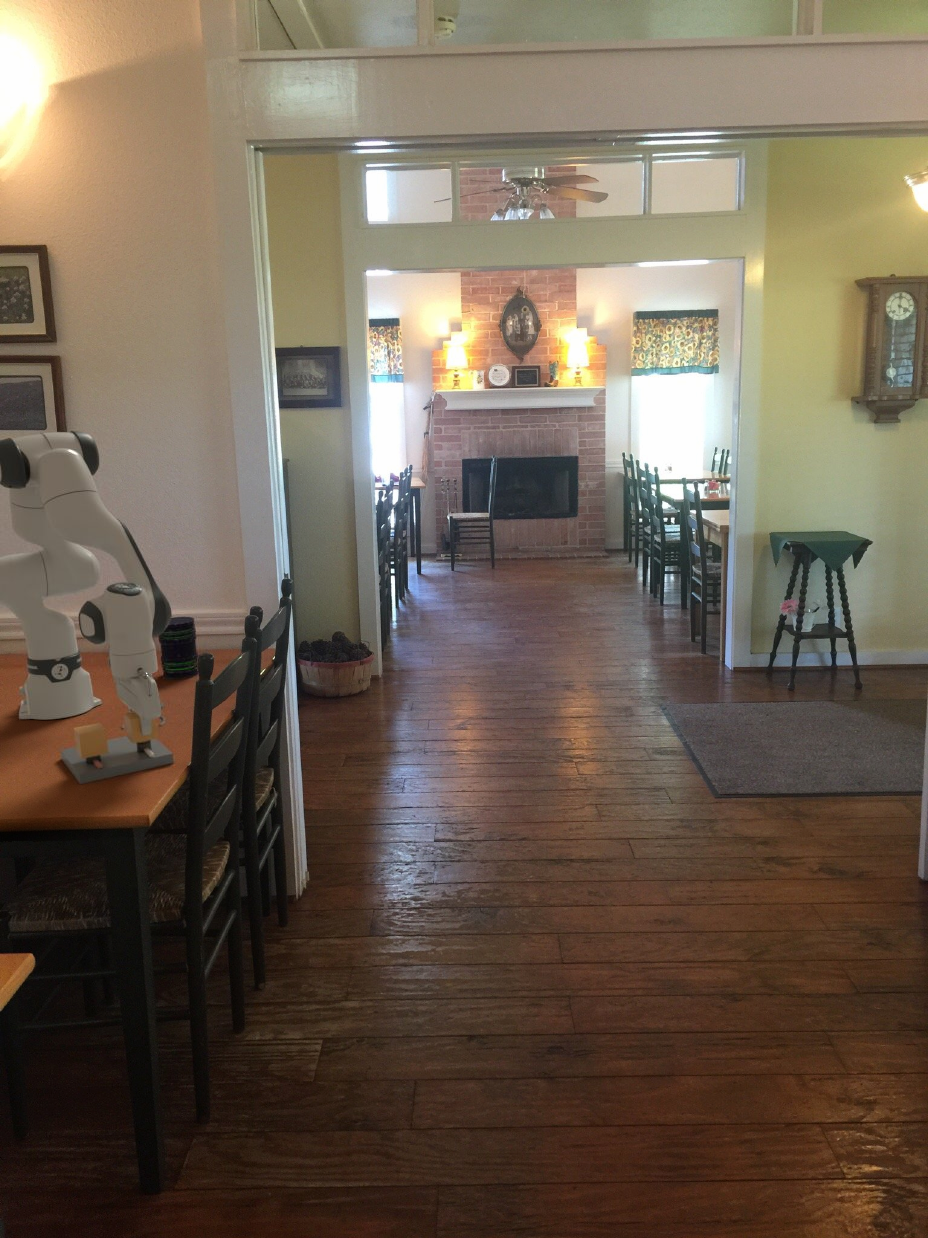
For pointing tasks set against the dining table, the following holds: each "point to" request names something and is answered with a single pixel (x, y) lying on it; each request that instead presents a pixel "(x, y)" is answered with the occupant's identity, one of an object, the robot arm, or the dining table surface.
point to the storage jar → (179, 648)
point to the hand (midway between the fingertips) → (142, 730)
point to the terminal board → (110, 755)
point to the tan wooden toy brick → (138, 728)
